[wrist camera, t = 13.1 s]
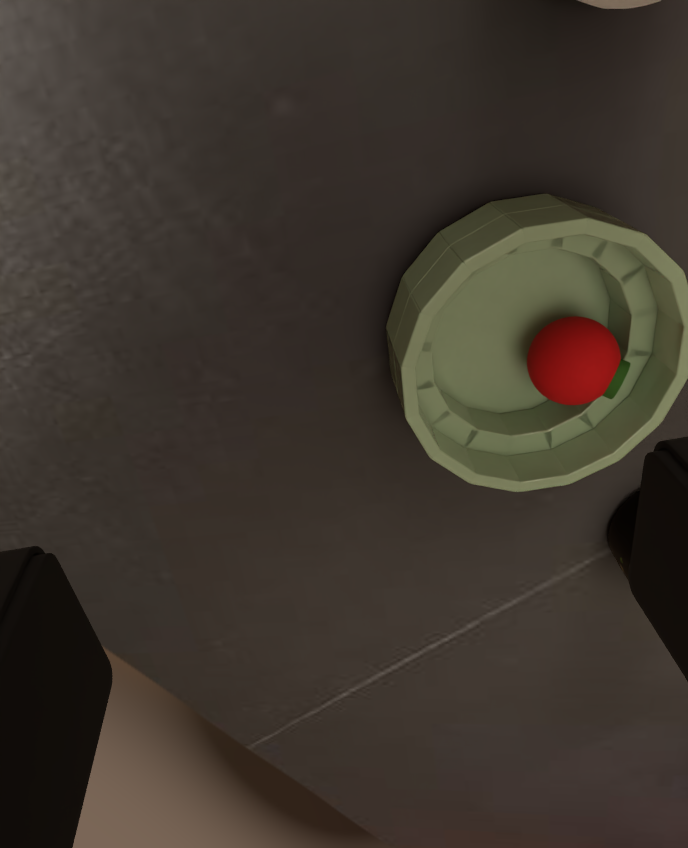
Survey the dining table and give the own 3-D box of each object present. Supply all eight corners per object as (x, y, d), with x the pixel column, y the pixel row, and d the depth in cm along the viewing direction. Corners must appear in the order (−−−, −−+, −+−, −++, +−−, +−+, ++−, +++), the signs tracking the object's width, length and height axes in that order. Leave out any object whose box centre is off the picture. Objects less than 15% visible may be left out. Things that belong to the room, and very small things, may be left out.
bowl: (373, 215, 28) (389, 247, 23) (653, 173, 28) (720, 197, 24) (397, 449, 34) (413, 508, 30) (624, 415, 34) (674, 468, 30)
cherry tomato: (531, 337, 27) (631, 378, 26) (558, 286, 29) (651, 322, 28) (504, 399, 30) (592, 438, 29) (530, 348, 32) (612, 383, 31)
